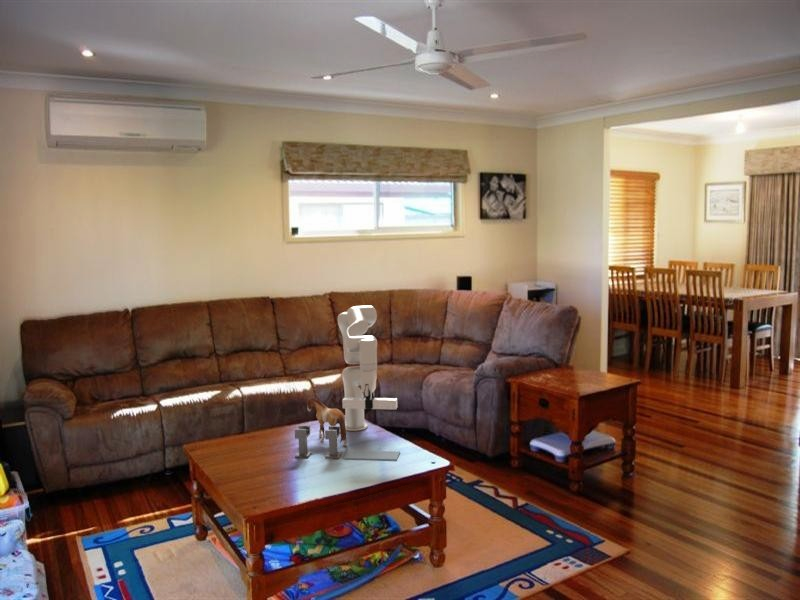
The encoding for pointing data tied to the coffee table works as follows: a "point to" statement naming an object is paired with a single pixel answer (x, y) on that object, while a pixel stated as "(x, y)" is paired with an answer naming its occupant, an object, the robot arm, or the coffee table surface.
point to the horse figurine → (328, 417)
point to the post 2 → (333, 442)
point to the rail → (377, 402)
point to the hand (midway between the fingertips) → (370, 406)
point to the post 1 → (303, 441)
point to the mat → (371, 455)
